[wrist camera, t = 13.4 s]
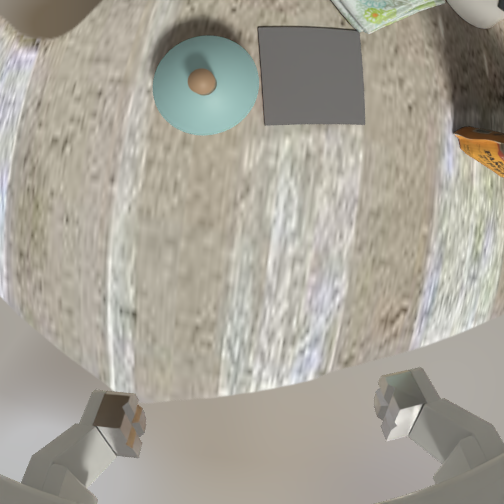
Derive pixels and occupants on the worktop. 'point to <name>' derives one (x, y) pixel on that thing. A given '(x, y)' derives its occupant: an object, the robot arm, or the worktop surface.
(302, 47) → the mat
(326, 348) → the worktop surface
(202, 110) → the lid
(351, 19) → the towel
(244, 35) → the worktop surface
